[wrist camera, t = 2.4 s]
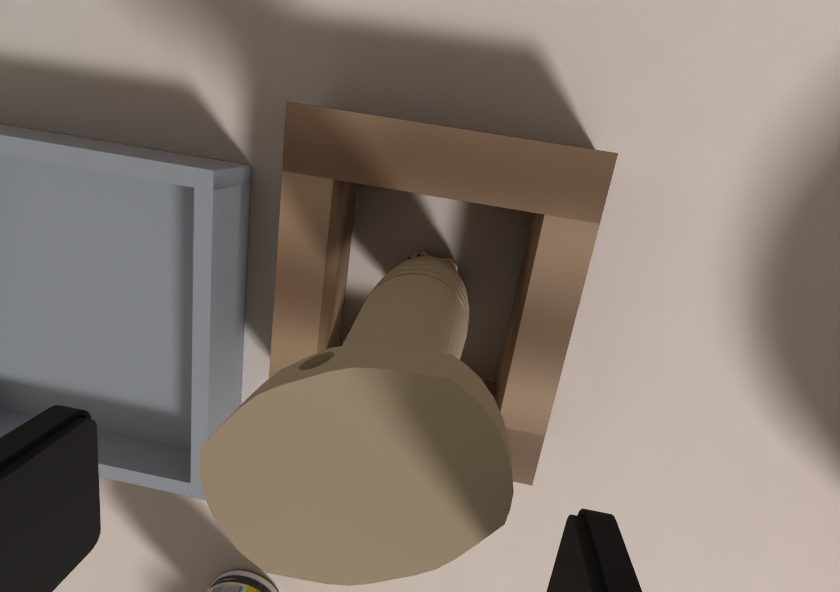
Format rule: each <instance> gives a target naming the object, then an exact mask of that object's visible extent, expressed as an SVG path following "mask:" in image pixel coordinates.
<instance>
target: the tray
mask: <svg viewBox="0 0 840 592" xmlns="http://www.w3.org/2000/svg"><path fill="white" fill-rule="evenodd" d="M251 168H252V166H251V165H245V164H239V163H233V162H227V161H221V160H215V159H209V158H203V157H197V156H191V155H185V154H179V153H173V152H167V151H161V150H155V149H149V148H143V147H137V146H131V145H125V144H119V143H113V142H107V141H101V140H95V139H89V138H83V137H77V136H71V135H65V134H59V133H53V132H47V131H41V130H35V129H29V128H23V127H17V126H11V125H5V124H0V438H1V437H2V436H4V435H5V434H7V433H9V432H10V431H12V430H14V429H15V428H17V427H19V426H20V425H22V424H23V423H25V422H27V421H28V420H30V419H32V418H33V417H35V416H37V415H38V414H40V413H41V412H43V411H45V410H46V409H48V408H50V407H52V406H54V405H62V406H67V407H72V408H77V409H82V410H86V411H88V412H89V414H90V415H91V419H92V420H94V421H95V422H96V424H97V441H98V469H99V477H102V478H107V479H111V480H116V481H120V482H125V483H129V484H134V485H139V486H143V487H148V488H152V489H157V490H161V491H166V492H171V493H175V494H180V495H184V496H189V497H193V498H198V499H203V500H206V499H205V496H204V492H203V488H202V484H201V480H200V463H199V461H200V454H201V446H202V445H203V444H204V443H205V442H206V441H207V440H208V439H209V438H210V437H211V436H212V434H213V433H214V432H215V431H216V430H217V429H218V428H219V427H220V426H221V425H222V424H223V423H224V422H225V421H226V420H227V419H228V418H229V417H230V416H231V415H232V414H233V413H234V412H235V411H236V410H237V409H238V408H239V407H240V406H241V385H242V364H243V342H244V320H245V298H246V277H247V255H248V233H249V211H250V190H251Z"/></svg>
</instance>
